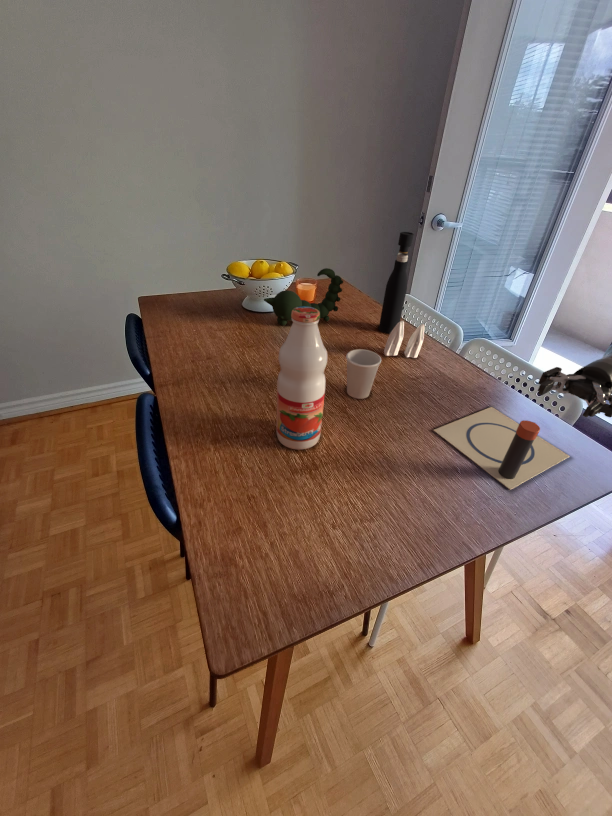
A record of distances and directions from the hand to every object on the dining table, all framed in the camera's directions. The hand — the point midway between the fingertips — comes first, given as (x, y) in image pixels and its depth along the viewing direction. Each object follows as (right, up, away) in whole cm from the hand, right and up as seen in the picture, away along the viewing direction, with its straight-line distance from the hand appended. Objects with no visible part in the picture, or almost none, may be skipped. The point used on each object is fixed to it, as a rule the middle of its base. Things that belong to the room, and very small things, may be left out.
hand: (563, 401), depth 76 cm
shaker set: (-21, +14, +41) cm, 48 cm away
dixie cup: (-36, +2, +24) cm, 43 cm away
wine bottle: (-22, +24, +56) cm, 65 cm away
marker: (-9, -14, +3) cm, 17 cm away
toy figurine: (-51, +27, +56) cm, 80 cm away
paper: (-7, -9, +11) cm, 16 cm away
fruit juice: (-51, -7, +9) cm, 52 cm away
